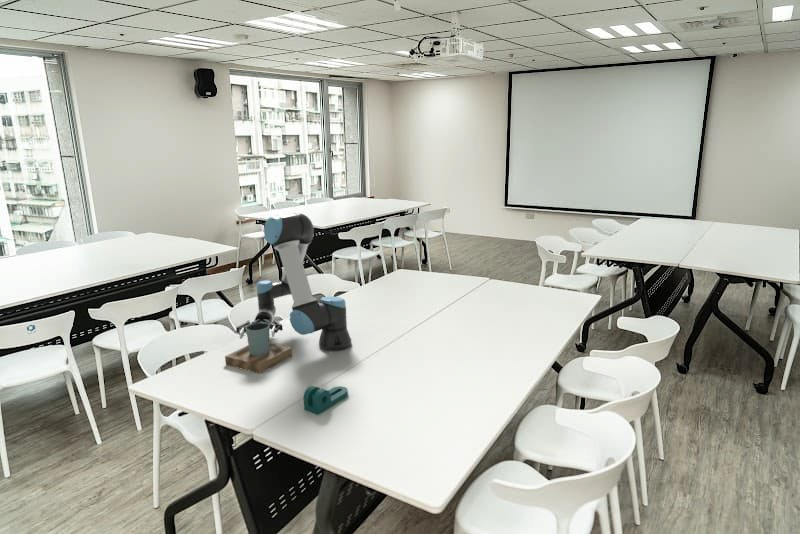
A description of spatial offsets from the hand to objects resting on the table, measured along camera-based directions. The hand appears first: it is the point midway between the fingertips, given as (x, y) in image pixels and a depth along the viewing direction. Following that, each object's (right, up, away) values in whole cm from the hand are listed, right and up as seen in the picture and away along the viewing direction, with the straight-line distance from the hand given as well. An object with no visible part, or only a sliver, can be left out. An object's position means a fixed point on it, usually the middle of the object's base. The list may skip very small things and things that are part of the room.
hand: (256, 335), depth 218 cm
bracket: (+36, -20, -34) cm, 54 cm away
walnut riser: (0, -12, +3) cm, 12 cm away
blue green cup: (+1, -8, +2) cm, 8 cm away
